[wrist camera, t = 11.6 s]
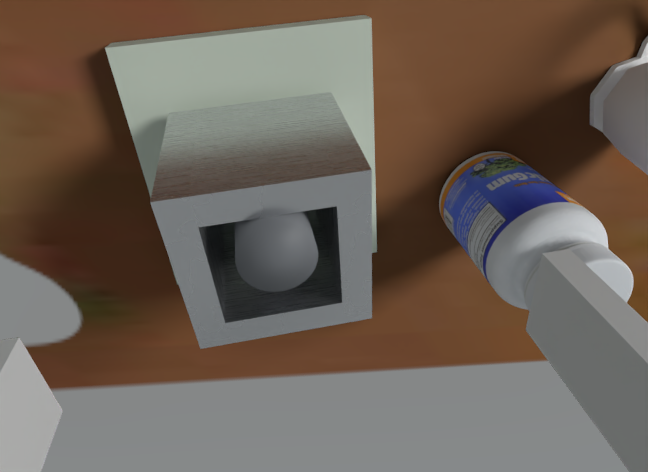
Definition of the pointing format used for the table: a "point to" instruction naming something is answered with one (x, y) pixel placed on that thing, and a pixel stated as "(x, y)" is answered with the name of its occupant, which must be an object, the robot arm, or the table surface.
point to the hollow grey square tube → (264, 213)
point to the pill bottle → (522, 226)
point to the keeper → (243, 87)
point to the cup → (624, 107)
